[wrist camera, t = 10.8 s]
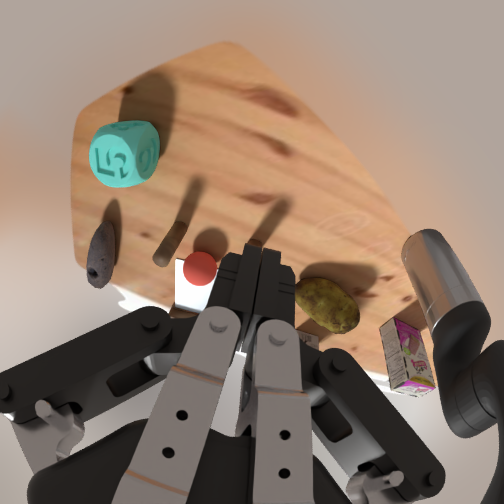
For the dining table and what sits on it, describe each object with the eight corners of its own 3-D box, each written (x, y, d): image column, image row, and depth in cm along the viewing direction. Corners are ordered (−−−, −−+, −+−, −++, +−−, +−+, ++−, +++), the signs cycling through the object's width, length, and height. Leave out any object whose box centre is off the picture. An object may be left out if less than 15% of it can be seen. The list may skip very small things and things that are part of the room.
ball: (220, 250, 46) (208, 283, 43) (222, 265, 51) (212, 294, 49) (187, 241, 46) (174, 272, 44) (192, 256, 52) (181, 285, 49)
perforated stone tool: (103, 209, 46) (83, 229, 41) (125, 220, 47) (107, 242, 42) (97, 262, 55) (82, 283, 49) (117, 273, 56) (102, 294, 50)
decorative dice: (116, 120, 36) (86, 133, 29) (160, 120, 36) (134, 132, 29) (118, 166, 41) (91, 185, 34) (160, 169, 40) (136, 190, 34)
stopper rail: (240, 325, 60) (238, 334, 58) (239, 328, 61) (237, 337, 59) (171, 307, 60) (167, 315, 58) (171, 310, 60) (167, 319, 58)
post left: (187, 223, 46) (168, 255, 39) (186, 235, 47) (168, 268, 40) (173, 220, 46) (152, 251, 39) (172, 232, 47) (152, 264, 40)
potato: (323, 258, 47) (327, 290, 40) (362, 297, 51) (368, 328, 44) (287, 282, 51) (286, 315, 44) (329, 316, 55) (331, 347, 49)
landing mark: (249, 276, 51) (248, 277, 51) (236, 322, 59) (236, 322, 59) (176, 258, 51) (175, 259, 51) (175, 306, 59) (175, 306, 59)
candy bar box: (420, 329, 55) (436, 388, 42) (406, 340, 58) (418, 398, 45) (393, 315, 53) (409, 380, 40) (377, 327, 56) (389, 392, 43)
